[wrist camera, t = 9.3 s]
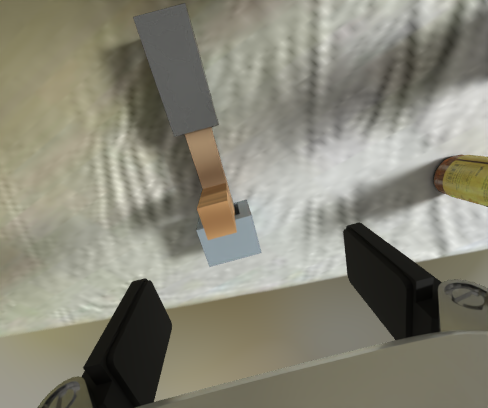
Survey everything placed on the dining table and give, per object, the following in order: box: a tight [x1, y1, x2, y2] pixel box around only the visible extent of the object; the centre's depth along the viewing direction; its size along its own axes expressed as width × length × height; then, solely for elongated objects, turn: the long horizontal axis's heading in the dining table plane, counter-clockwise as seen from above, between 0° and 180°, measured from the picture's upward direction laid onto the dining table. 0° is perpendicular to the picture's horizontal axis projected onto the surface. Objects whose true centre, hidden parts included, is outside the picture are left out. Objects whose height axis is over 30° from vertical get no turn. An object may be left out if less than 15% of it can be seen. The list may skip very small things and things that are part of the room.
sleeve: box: [133, 3, 219, 137], centre depth 25 cm, size 11×5×5 cm, turn 14°
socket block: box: [196, 200, 261, 267], centre depth 31 cm, size 6×7×6 cm
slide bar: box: [185, 127, 237, 240], centre depth 26 cm, size 18×3×10 cm, turn 14°
